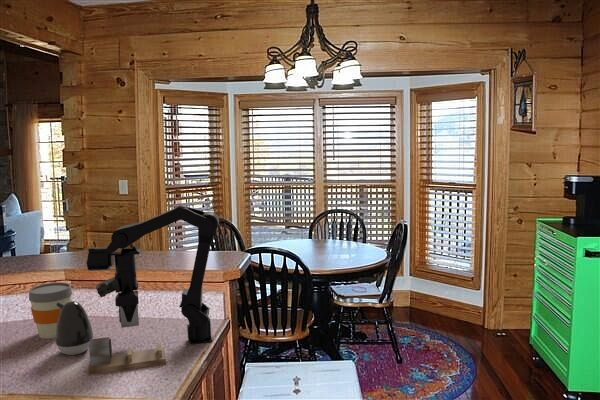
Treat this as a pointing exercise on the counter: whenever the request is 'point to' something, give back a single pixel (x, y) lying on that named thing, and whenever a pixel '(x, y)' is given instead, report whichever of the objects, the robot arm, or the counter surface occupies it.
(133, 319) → the block
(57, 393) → the counter surface
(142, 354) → the rail
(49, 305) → the reusable coffee cup
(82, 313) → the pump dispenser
